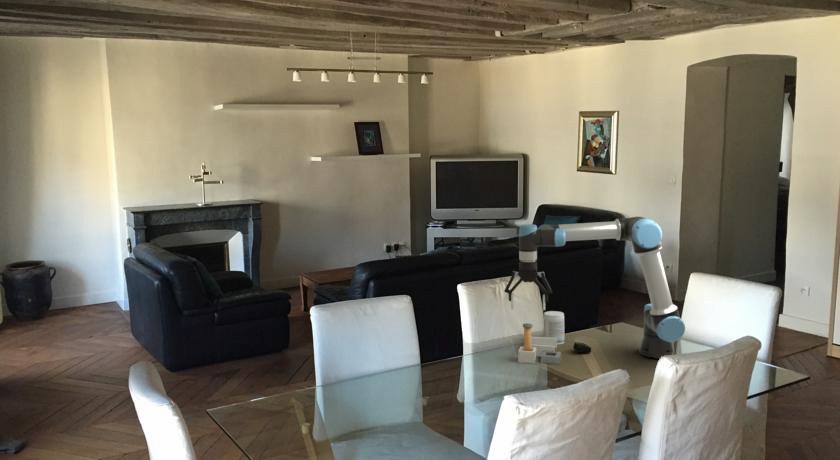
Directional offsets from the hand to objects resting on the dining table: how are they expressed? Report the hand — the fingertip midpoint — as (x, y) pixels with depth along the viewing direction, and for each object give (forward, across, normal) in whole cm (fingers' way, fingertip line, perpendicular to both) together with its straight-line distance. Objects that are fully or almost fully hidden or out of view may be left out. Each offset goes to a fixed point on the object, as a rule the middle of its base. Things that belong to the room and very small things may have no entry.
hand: (528, 309), depth 311 cm
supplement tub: (+23, -8, -29) cm, 38 cm away
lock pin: (+23, 0, 0) cm, 23 cm away
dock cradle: (+23, -4, -14) cm, 27 cm away
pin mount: (+23, -10, -2) cm, 25 cm away
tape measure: (+23, -22, -14) cm, 34 cm away
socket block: (+23, 0, 0) cm, 23 cm away
